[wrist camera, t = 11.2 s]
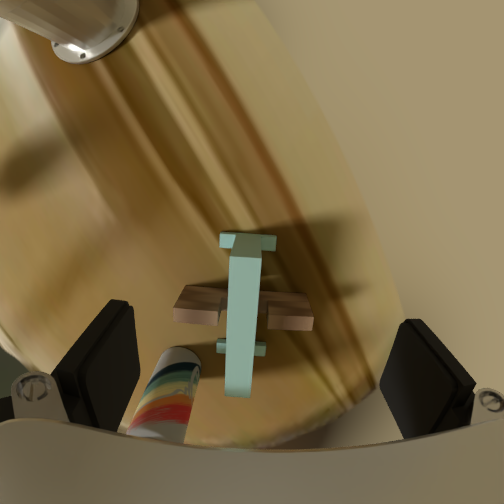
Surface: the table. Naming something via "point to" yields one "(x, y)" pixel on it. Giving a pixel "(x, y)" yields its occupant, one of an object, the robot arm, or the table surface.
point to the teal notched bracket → (242, 309)
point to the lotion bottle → (168, 397)
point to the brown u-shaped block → (273, 303)
